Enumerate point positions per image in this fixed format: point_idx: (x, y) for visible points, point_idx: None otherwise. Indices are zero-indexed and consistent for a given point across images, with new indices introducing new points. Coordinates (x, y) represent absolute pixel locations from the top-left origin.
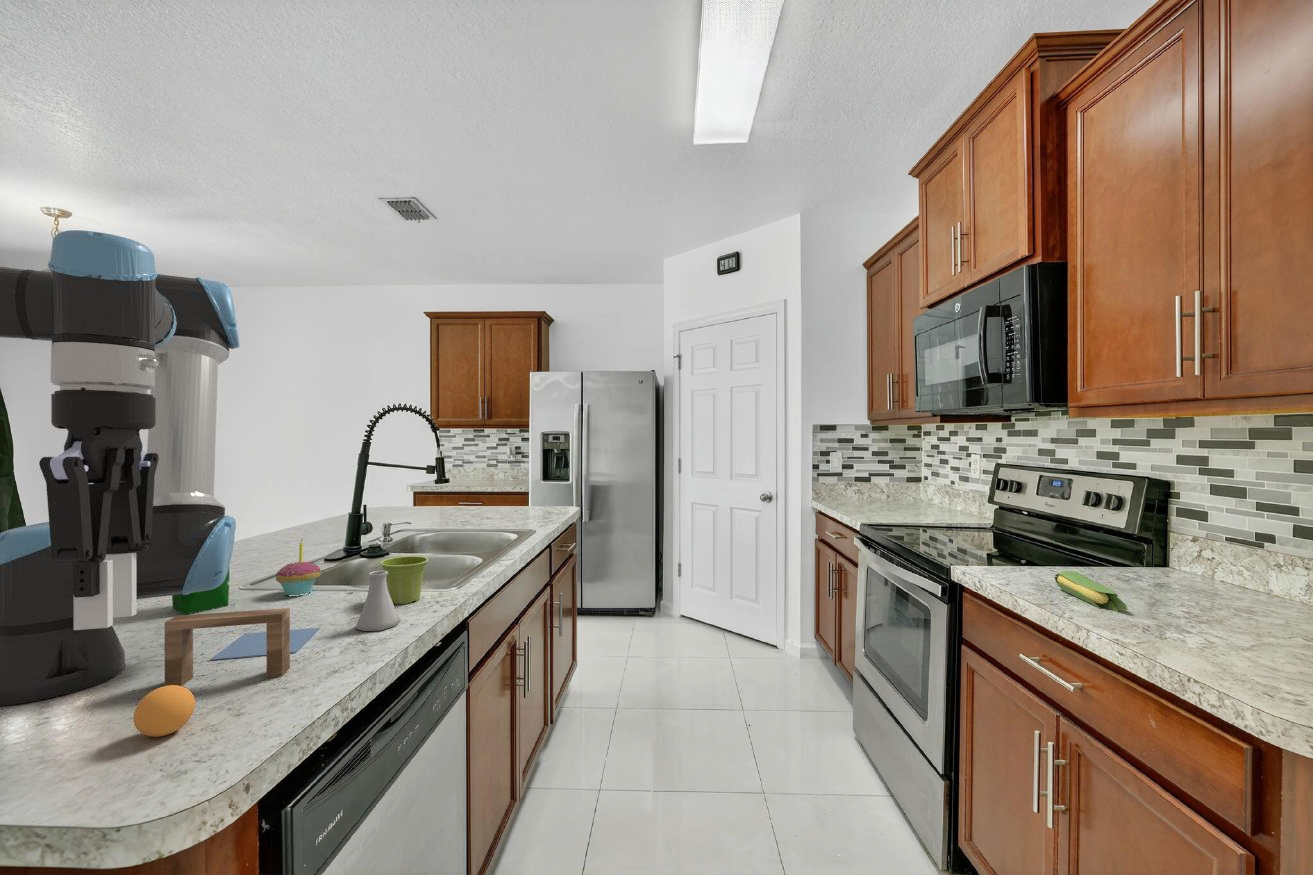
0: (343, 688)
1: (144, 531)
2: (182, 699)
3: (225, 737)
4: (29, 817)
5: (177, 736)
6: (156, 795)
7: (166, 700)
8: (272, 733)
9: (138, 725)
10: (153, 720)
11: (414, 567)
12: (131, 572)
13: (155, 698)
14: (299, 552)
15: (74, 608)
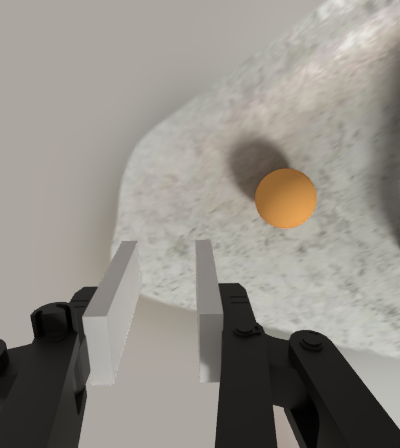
0: (332, 334)
1: (291, 427)
2: (278, 225)
3: (246, 259)
4: (133, 157)
5: None
6: (146, 248)
7: (270, 214)
8: None
9: (260, 182)
10: (255, 202)
11: None
12: (198, 344)
13: (273, 203)
14: None
15: (114, 259)
